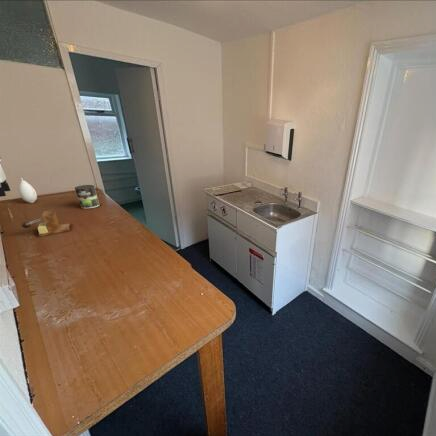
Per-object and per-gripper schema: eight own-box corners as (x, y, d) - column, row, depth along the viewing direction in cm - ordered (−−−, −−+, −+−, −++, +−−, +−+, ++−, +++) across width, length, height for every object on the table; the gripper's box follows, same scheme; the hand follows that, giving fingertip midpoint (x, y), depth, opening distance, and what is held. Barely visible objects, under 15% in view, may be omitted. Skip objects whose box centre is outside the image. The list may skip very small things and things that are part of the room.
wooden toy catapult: (39, 236, 122) (30, 217, 117) (41, 230, 128) (33, 212, 124) (69, 230, 129) (63, 212, 125) (70, 225, 135) (63, 207, 131)
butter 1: (40, 230, 125) (38, 225, 124) (41, 228, 127) (39, 223, 126) (48, 229, 127) (46, 224, 126) (49, 227, 129) (47, 222, 128)
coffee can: (97, 207, 161) (91, 188, 155) (78, 209, 157) (71, 189, 151) (101, 203, 169) (96, 184, 164) (84, 204, 165) (77, 185, 160)
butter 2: (39, 233, 122) (37, 228, 121) (40, 231, 124) (38, 226, 123) (47, 232, 123) (45, 227, 122) (48, 229, 126) (46, 225, 125)
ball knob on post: (24, 229, 119) (19, 225, 118) (25, 227, 122) (20, 222, 120) (54, 217, 125) (50, 212, 123) (55, 215, 127) (50, 210, 126)
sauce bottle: (24, 201, 165) (13, 177, 158) (39, 199, 170) (30, 175, 163) (23, 204, 160) (12, 179, 153) (39, 202, 165) (29, 177, 158)
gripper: (-20, 155, 109) (-4, 190, 116) (-33, 161, 97) (-14, 199, 104) (4, 154, 114) (18, 188, 120) (-5, 160, 102) (11, 197, 108)
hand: (3, 193), depth 112 cm, fingers open, 9 cm apart
